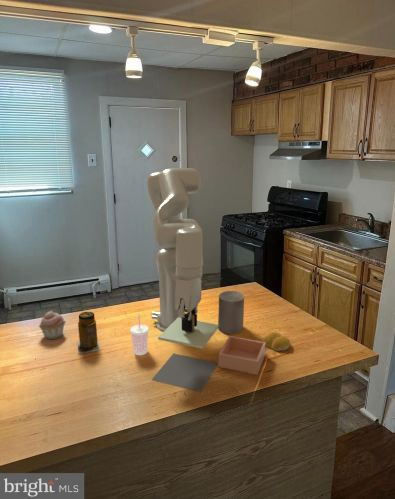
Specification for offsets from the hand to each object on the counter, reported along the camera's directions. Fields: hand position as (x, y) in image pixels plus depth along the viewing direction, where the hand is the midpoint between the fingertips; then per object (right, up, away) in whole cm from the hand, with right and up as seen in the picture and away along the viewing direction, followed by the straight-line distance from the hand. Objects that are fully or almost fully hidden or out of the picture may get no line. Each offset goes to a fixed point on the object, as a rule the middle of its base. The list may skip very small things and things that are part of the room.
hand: (189, 327), depth 113 cm
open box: (+17, -13, +9) cm, 24 cm away
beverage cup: (-17, -12, +15) cm, 25 cm away
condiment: (-36, -11, +18) cm, 42 cm away
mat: (-1, -15, +4) cm, 15 cm away
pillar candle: (+15, -7, +32) cm, 36 cm away
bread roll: (+31, -11, +20) cm, 38 cm away
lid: (0, -2, 0) cm, 2 cm away
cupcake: (-51, -9, +26) cm, 58 cm away
